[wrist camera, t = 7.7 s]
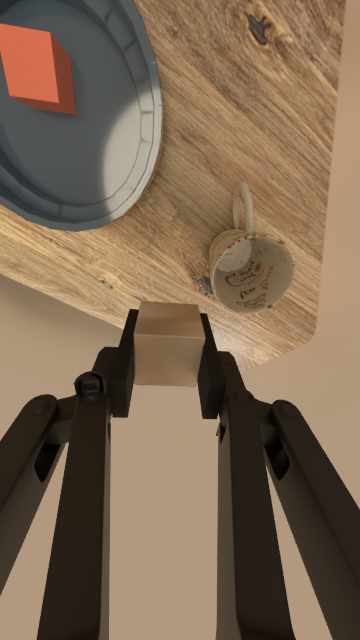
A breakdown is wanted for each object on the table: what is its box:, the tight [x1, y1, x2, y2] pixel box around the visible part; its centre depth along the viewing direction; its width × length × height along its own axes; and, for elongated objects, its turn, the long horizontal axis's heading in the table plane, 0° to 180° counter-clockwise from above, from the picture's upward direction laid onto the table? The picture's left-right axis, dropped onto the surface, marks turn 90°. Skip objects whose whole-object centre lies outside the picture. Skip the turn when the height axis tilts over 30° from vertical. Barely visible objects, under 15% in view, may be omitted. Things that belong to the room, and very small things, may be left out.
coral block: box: [0, 23, 76, 115], centre depth 20 cm, size 4×4×4 cm
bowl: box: [0, 0, 164, 232], centre depth 21 cm, size 20×20×5 cm
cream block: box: [134, 301, 206, 387], centre depth 15 cm, size 4×4×4 cm
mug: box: [209, 180, 295, 314], centre depth 25 cm, size 8×13×10 cm, turn 10°
